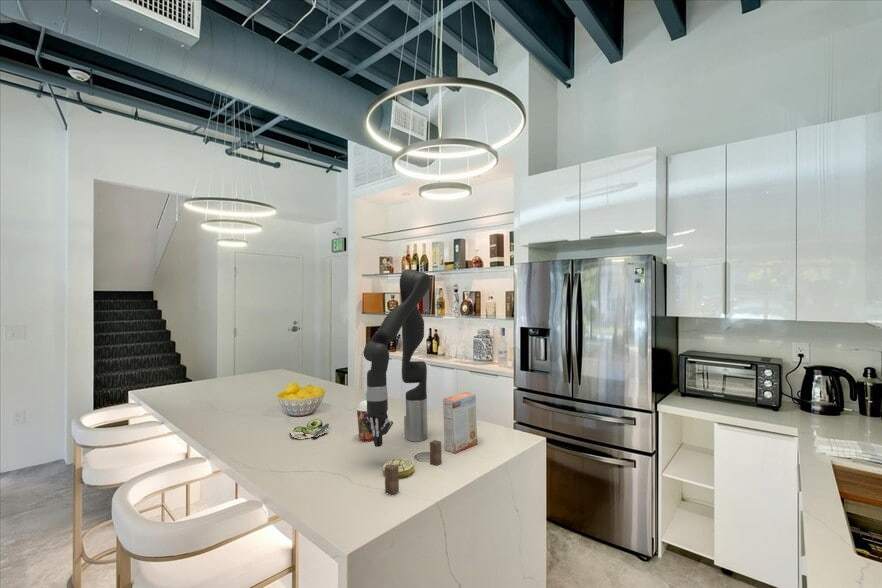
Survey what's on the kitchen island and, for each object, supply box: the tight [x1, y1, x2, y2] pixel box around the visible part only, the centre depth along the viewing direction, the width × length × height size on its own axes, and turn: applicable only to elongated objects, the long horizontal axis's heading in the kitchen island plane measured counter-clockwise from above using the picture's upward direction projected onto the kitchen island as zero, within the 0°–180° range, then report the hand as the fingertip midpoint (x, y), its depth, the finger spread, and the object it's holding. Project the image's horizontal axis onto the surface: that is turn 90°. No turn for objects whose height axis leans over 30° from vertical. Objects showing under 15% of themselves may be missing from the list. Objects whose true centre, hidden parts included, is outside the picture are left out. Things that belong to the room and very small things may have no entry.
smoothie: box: [356, 392, 374, 442], centre depth 174 cm, size 8×8×20 cm
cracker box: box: [442, 391, 478, 454], centre depth 162 cm, size 14×6×21 cm, turn 134°
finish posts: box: [384, 439, 443, 496], centre depth 136 cm, size 3×28×8 cm, turn 147°
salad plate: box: [292, 418, 330, 438], centre depth 183 cm, size 19×18×5 cm
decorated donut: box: [382, 458, 415, 479], centre depth 140 cm, size 10×11×4 cm
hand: (378, 446), depth 145 cm, fingers closed
